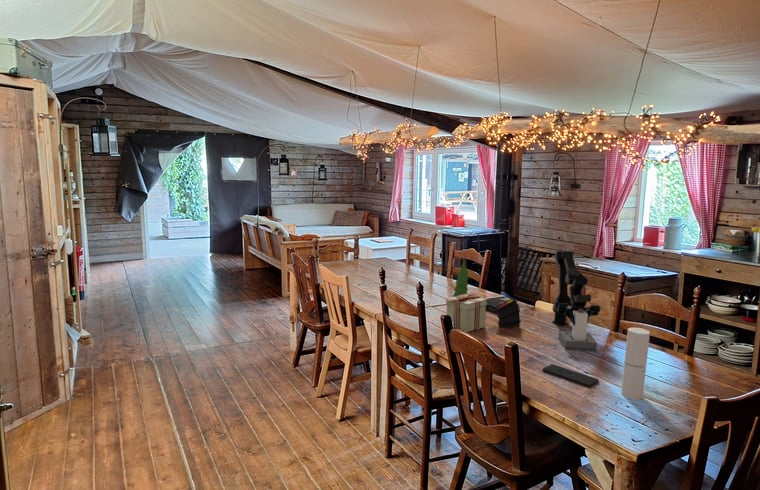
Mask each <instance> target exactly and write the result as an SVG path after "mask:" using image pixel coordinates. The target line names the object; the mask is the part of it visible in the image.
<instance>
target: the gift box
mask: <svg viewBox="0 0 760 490" xmlns="http://www.w3.org/2000/svg"><path fill="white" fill-rule="evenodd" d="M444 300H445V302H446V303H445V305H446V315H447V314H449V315H450V316H451V318H452V322H453V326H454V328H453V329H455V328H456V329H455V330H458V329H460V330H459V331H461V330H463V331H462V332H464V331H466V332H465V333H470V331H471V332H474V331H477V330H480V328H481V329H483V328H486V314H487V313H486V312H487V310H486V306H487V300H488V299H487V298H486V299H485V298H482V297H481V296H480V295H478V294H477V293H476V292H471V293H469V294H468V295H466V294H464V295H458V296H455V297H453V296H452V297H448V298H446V299H444ZM476 329H477V330H476ZM473 330H474V331H473Z"/></svg>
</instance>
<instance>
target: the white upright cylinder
mask: <svg viewBox="0 0 760 490" xmlns="http://www.w3.org/2000/svg"><path fill="white" fill-rule="evenodd" d="M573 315H574V319H575V326H574V325H573V324H572V330H571V332H572V338H573V340H576V341H586V333H587V329H588V328H587V327H588V324H587V319H588V314H587V313H586V312H585V311H583V309H581V308H580V309H579V311H573Z"/></svg>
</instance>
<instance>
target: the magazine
mask: <svg viewBox="0 0 760 490" xmlns="http://www.w3.org/2000/svg"><path fill="white" fill-rule="evenodd" d="M517 304H518V301H517V300H516V298H514V297H512V298H509V299H508V300H506V302H504V303H502V304H500V305H498V306H497V307H495V308H496V309H495V311H497V313H498V314H497V318H498V321H497V324H498V327H499V328H501V329H507V328H520V327H521V325H520V323H521V322H522V320H521V319H520V317H521V315H520V312H521V310H520V308H519V309H518V305H517Z"/></svg>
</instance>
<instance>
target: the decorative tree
mask: <svg viewBox="0 0 760 490" xmlns="http://www.w3.org/2000/svg"><path fill="white" fill-rule="evenodd" d="M468 276H469V273H468V269H467V264H466V259H464V260H463V262H462V265H461V268H460V270H459V272H458V275H457V279H456V281H455V283H454V284H455V287H454V289H453V291H454V293H453V295H452V297H455V296H458V295H464V294H466V295H469V294H468V290H469V288H468V286H469V284H468V281H469V277H468Z"/></svg>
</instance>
